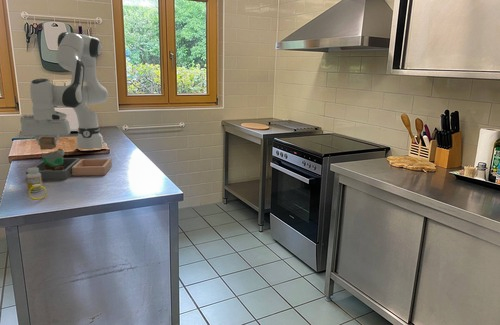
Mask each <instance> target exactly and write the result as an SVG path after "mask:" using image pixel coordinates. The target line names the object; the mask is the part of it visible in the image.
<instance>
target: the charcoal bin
mask: <svg viewBox="0 0 500 325" xmlns="http://www.w3.org/2000/svg"><path fill="white" fill-rule="evenodd" d="M81 159H82V158H79V157H73V158H72V157H71V158H69V157H67V158H66V157H65V158H64V157H63V167H66V168H64V170H58V171H46V170H45V166H44V161H43V160H41V161H40V162H39V163H37V164H35V165H34V166H33V167H37V168H39V173H41V177H42V181H48V180H51V181H52V180H57V181H59V180H67V179H69V178H70V177H71V175H72V176H73V174H72V167H73V166H74V165H75V164H76V163H78V162H79V161H80V160H81ZM33 167H31V168H33ZM25 174H26V175H25V176H27V174H28V170H26V171H25Z"/></svg>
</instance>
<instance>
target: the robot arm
mask: <svg viewBox="0 0 500 325" xmlns="http://www.w3.org/2000/svg"><path fill="white" fill-rule="evenodd" d="M102 51H103V45H102V41H101V40H100V39H99V38H97V37H95V36H91V35H86V34H82V33H80V34H79V33H74V32H67V31H66V32H65V31H64V32H63V31H62V32H61V33H60V34H59V35H58V37H57V50H56V53H55V59H56V62H57V64H58V65H59V66H60V67H62V68H63V69H64V70H66V71H69V72H71V80H70V84H69V85H55V84H53V83H51V81H50V79H49V78H35V79H33V80H32V81H31V82H30V99H31V103H32V107H31V110H32V114H29V115H25V114H24V115H23V116H21V117H20V119H19V121H20V124H21V126H20V127H21V134H22V135H23V136H25V137H26V136H27V137H30V136H31V137H32V136H33V137H34V139H35V141H36V142H37V145H38V146H40V141H39V139H40V137H41V136H42V137H55V141H53V145H56V146H57V145H58V141H59V138H60V136H69V135H70V134H71V132H72V131H71V126H70V123H69V120H68V119H67V114H66V113H64V112H61V111H57V110H55V107H66V108H72V110H74V112H75V114H76V116H77V117H76V118H77V122H78V127H77V131H78V132H77V133H78V135H77V136H76V147H78V148H82V149H93V148H102V147H103V146H102V145H103V144H104V143H105V144H106V146H107V147H108V143H106V142H105V141H104V139H103V138H104V136H103V135H102V134H101V133H100V132H101V131H100V130H101V129H100V126H99V119H98V118H99V117H98V114H97V113H96V112H95V111H93V110H91V109H89V108H87V106H88V105H98V104H99V105H100V104H103V103H106V102H107V101H108V99H109V92H108V90H107V88H106V87H105V86H103V85H102V84H101V83H100V82H99V80H98V76H97V65H96V64H97V63H96V62H97V59H96V58H98V57H99V56H100V55H101V53H102ZM84 83H85V85H84Z"/></svg>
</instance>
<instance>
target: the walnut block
mask: <svg viewBox="0 0 500 325" xmlns="http://www.w3.org/2000/svg"><path fill="white" fill-rule="evenodd" d="M55 139H56V138H55V136H42V137H39V141H40V145H39V148H40V150H42V151H43V150H44V151H45V150H54V149H55V148H56V147H57V145H53V141H55Z"/></svg>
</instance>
